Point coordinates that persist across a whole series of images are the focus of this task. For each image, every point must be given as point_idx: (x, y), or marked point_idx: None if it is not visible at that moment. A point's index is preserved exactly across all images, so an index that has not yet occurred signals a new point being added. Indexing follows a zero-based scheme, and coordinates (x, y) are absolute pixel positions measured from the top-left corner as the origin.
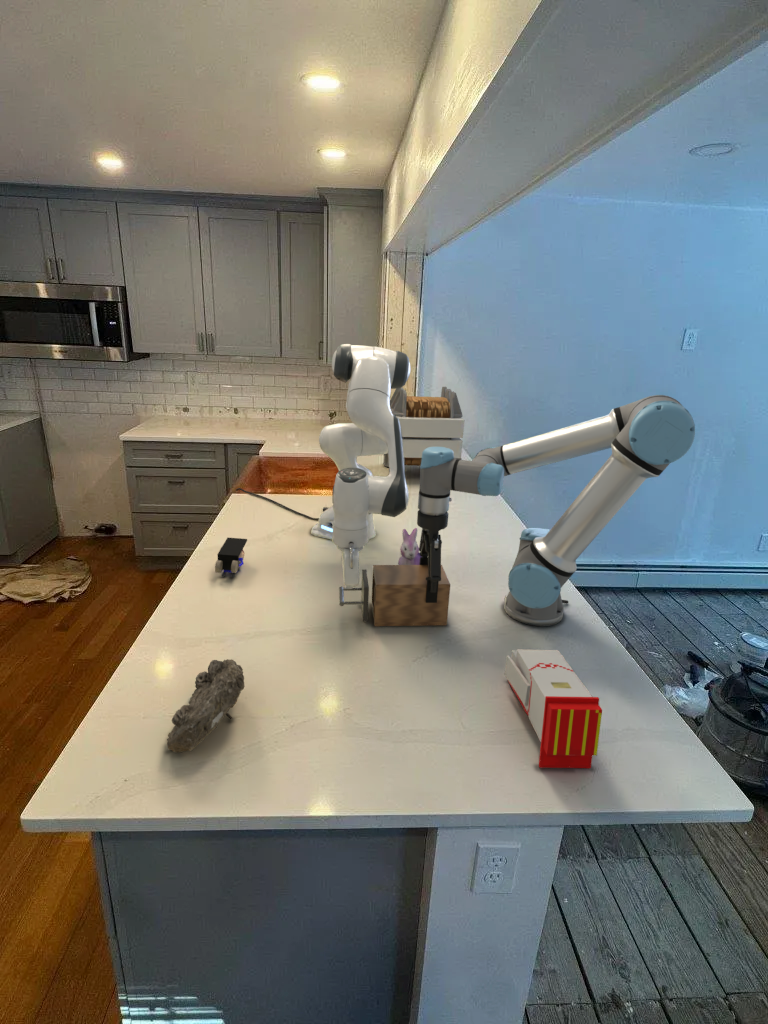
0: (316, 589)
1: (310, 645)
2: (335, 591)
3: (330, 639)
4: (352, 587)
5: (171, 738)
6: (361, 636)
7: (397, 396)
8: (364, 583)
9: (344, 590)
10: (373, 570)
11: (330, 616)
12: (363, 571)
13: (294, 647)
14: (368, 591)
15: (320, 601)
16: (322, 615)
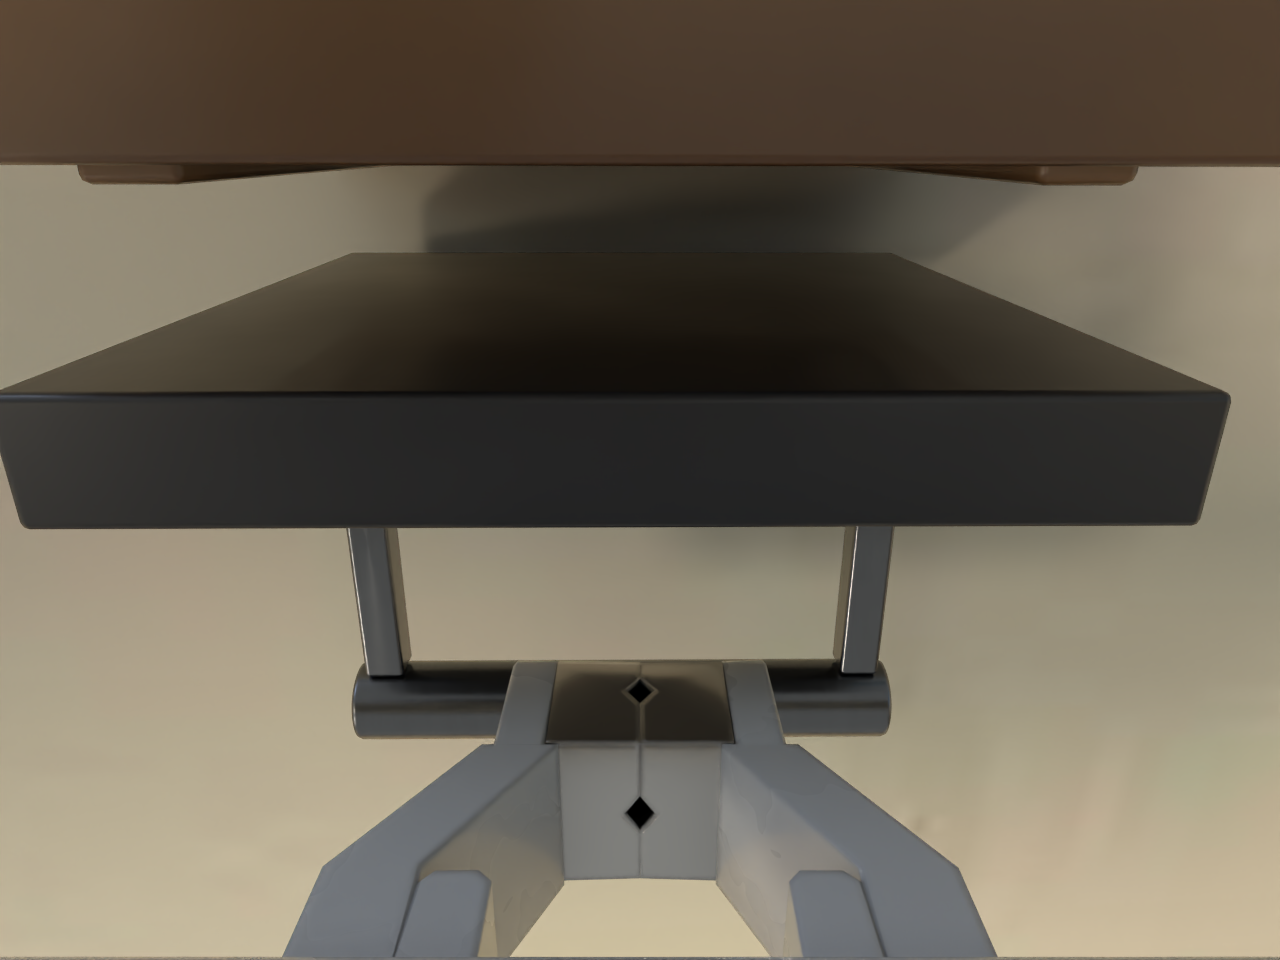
0: (56, 789)
1: (1159, 806)
2: (53, 602)
3: (1101, 650)
4: (765, 675)
5: None
6: (1118, 337)
7: None
8: (966, 504)
9: (408, 645)
10: (91, 162)
11: (649, 652)
12: (155, 493)
13: (1156, 912)
14: (1150, 365)
15: (327, 747)
16: None
